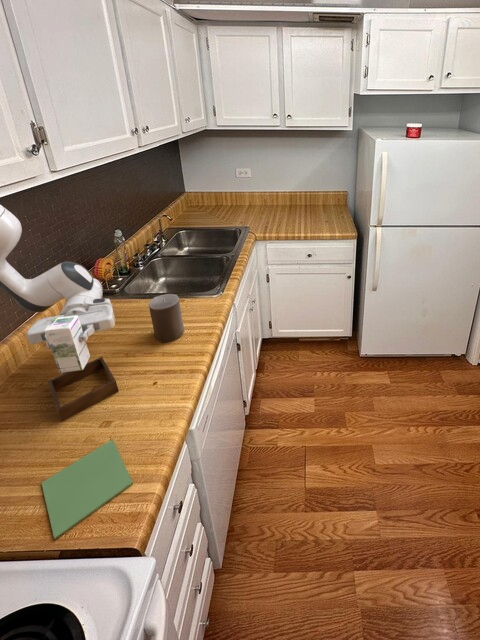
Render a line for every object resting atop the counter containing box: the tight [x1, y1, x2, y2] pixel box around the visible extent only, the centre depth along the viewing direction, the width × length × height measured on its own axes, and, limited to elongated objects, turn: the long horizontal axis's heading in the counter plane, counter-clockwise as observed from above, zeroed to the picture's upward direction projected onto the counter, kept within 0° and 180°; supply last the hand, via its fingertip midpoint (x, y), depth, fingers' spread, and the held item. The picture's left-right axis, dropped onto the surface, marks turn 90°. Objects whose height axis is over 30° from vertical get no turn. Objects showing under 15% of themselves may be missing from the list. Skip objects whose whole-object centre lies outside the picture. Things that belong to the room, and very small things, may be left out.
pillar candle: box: [148, 293, 185, 343], centre depth 116 cm, size 10×10×15 cm
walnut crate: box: [47, 356, 119, 422], centre depth 94 cm, size 14×14×4 cm
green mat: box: [40, 439, 134, 540], centre depth 72 cm, size 14×14×1 cm
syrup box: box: [44, 315, 91, 375], centre depth 89 cm, size 6×6×14 cm
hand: (66, 342), depth 87 cm, fingers closed on syrup box, 6 cm apart
